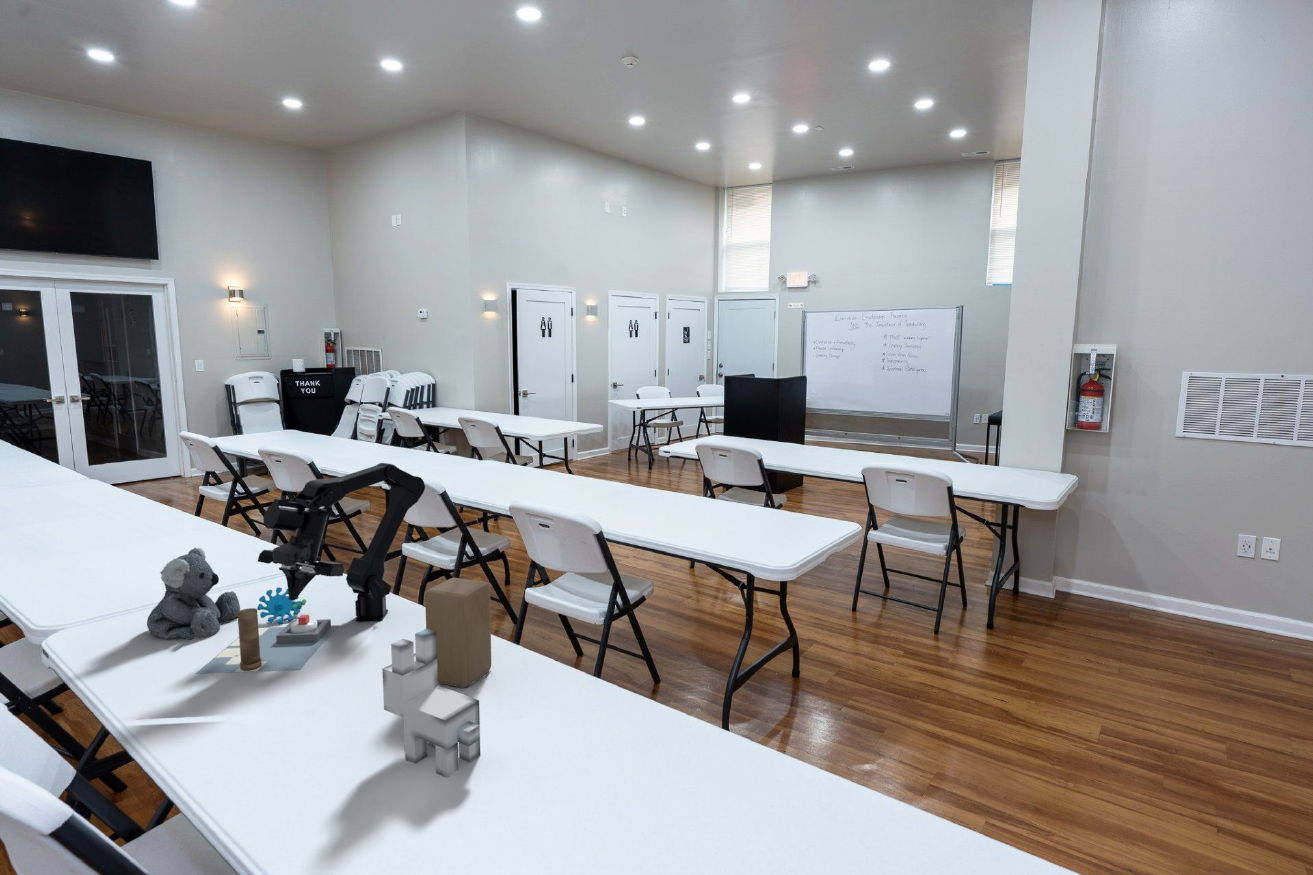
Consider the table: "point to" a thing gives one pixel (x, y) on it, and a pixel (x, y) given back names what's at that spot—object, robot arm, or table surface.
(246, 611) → the brown wooden cylinder
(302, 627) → the dome button
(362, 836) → the table surface
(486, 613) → the block
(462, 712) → the toy llama
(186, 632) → the koala plush
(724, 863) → the table surface
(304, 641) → the board
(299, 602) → the blue spiky piece
